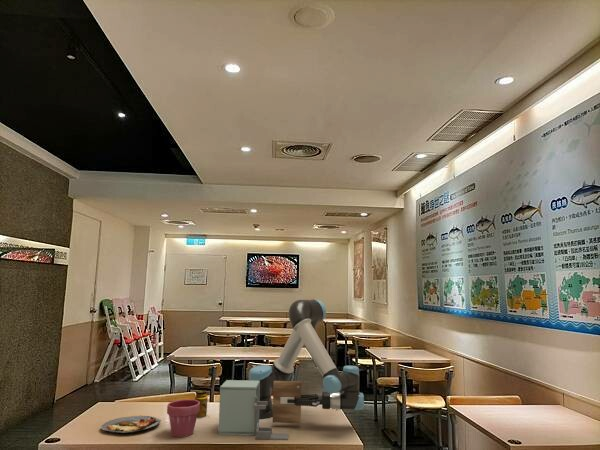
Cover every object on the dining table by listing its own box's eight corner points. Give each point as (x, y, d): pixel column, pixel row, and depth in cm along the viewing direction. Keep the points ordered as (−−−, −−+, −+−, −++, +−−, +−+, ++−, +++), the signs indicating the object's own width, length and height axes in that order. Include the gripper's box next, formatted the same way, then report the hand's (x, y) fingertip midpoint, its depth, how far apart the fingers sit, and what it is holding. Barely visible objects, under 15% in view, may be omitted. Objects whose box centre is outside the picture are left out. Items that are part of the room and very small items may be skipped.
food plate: (170, 422, 199) (170, 415, 199) (136, 439, 177) (136, 430, 177) (127, 418, 206) (127, 411, 207) (89, 434, 185) (90, 425, 185)
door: (273, 420, 197) (274, 380, 200) (300, 421, 196) (301, 381, 199) (272, 423, 193) (273, 382, 196) (300, 424, 192) (300, 383, 195)
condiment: (209, 417, 209) (210, 391, 211) (192, 419, 204) (194, 393, 206) (204, 413, 215) (205, 388, 217) (188, 415, 210) (189, 390, 212)
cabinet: (225, 424, 197) (226, 380, 200) (290, 425, 196) (291, 381, 199) (215, 438, 178) (217, 389, 181) (287, 440, 177) (288, 390, 180)
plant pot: (162, 431, 187) (164, 401, 189) (193, 426, 193) (195, 397, 195) (169, 441, 174) (171, 409, 176) (202, 436, 181) (204, 404, 183)
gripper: (331, 414, 187) (279, 412, 188) (329, 404, 203) (281, 403, 204) (331, 396, 189) (279, 395, 189) (330, 388, 204) (282, 387, 205)
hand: (280, 399), depth 197 cm, fingers closed on door, 3 cm apart
